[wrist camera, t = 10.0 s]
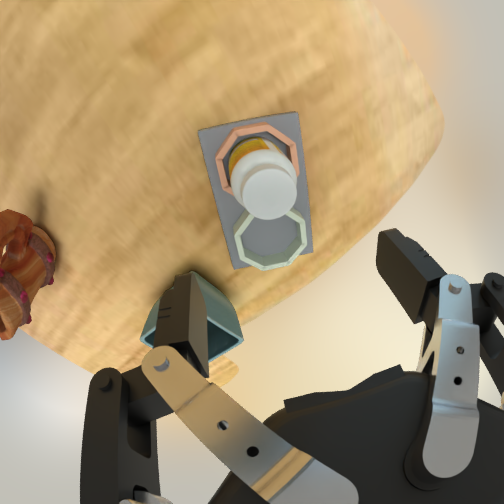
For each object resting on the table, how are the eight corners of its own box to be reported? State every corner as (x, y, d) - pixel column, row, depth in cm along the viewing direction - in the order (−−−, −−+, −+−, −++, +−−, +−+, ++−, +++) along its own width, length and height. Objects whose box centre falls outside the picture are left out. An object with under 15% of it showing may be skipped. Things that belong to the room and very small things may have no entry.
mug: (62, 281, 35) (22, 363, 22) (19, 263, 32) (-28, 336, 19) (71, 190, 28) (2, 266, 16) (21, 173, 25) (-56, 235, 13)
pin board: (233, 263, 36) (235, 279, 34) (198, 130, 27) (196, 135, 24) (310, 246, 36) (317, 261, 34) (294, 111, 27) (303, 114, 24)
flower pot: (148, 290, 37) (137, 341, 30) (190, 251, 35) (185, 301, 27) (195, 321, 41) (195, 371, 34) (239, 289, 39) (246, 340, 31)
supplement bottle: (288, 145, 28) (319, 174, 20) (268, 191, 30) (289, 236, 22) (237, 127, 26) (248, 149, 18) (220, 176, 29) (222, 218, 21)
